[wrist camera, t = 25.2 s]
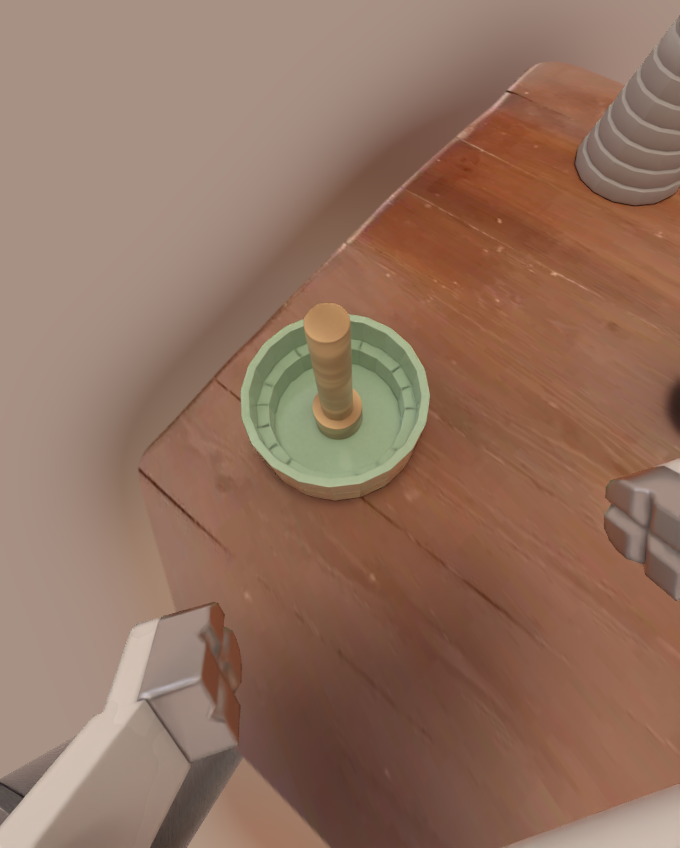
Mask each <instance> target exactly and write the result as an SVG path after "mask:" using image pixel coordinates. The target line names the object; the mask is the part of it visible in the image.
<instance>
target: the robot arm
mask: <svg viewBox="0 0 680 848" xmlns="http://www.w3.org/2000/svg"><path fill="white" fill-rule="evenodd" d="M605 498H606V499H607V500H608V501H609V502H610V503H611V505H610V507H609V508H608V510H607V511H606V513H605V514H604V529H605V531H606V534H607V536H608V538H609V541H610V542H611V543H612V545H613V546H614V547H615V549H616V550H617V551H618V552H619V553H621V554H622V555H623V556H624V557H625V558H626V559H629V560H632V561H634V562H637V563H640V564H643V567H644V571H645V575H646V576H647V577H648V578H650V579H651V580H652V581H653V582H654V583H655V584H657V585H658V586H659V587H660V588H661V589H663V590H664V591H665V592H666V593H667V594H668V595H670V596H671V597H672V598H673V599H674V600H675V601H677V600H680V458H679V459H676V460H673V461H670V462H667V463H663V464H660V465H657V466H656V467H652V468H649V469H645V470H642V471H639V472H636V473H633V474H630V475H626V476H623V477H620V478H617V479H614V480H611V481H610V482H609V483H608V485H607V487H606V495H605ZM224 617H225V614H224V613H223V611H222V609H221V607H220V605H219V603H216V602H212V603H208V604H205V605H201V606H198V607H194V608H191V609H187V610H183V611H180V612H176V613H173V614H169V615H165V616H163V617H161V618H158V619H154V620H150V621H146V622H143V623H139V624H136V626H135V627H134V628H133V629H132V630H131V632H130V634H129V637H128V640H127V643H126V646H125V649H124V652H123V655H122V658H121V661H120V663H119V666H118V669H117V672H116V675H115V678H114V681H113V684H112V687H111V690H110V693H109V696H108V699H107V701H106V705H105V708H104V710H103V713H101V714H98V715H95V716H93V717H92V719H91V720H90V721H89V722H88V723H87V724H86V725H85V727H84V728H83V729H82V730H81V732H80V733H79V734H78V735H77V736H76V737H75V738H74V740H73V741H72V742H71V743H70V744H69V745H68V747H67V748H66V749H65V750H64V751H63V753H62V754H61V755H60V756H59V757H58V758H57V760H56V761H55V762H54V763H53V764H52V766H51V767H50V768H49V769H48V770H47V771H46V773H45V774H44V775H43V776H42V777H41V778H40V780H39V781H38V782H37V783H36V784H35V786H34V787H33V788H32V789H31V790H30V791H29V793H28V794H27V795H26V796H25V797H24V798H23V800H22V801H21V802H20V803H19V804H18V806H17V807H16V808H15V809H14V810H13V811H12V813H11V814H10V815H9V816H8V817H7V818H6V820H5V821H4V822H3V823H2V824H1V826H0V848H150V846H151V844H152V842H153V840H154V838H155V836H156V834H157V832H158V830H159V828H160V826H161V824H162V822H163V820H164V818H165V817H166V815H167V813H168V811H169V809H170V807H171V805H172V803H173V801H174V799H175V797H176V795H177V793H178V791H179V789H180V787H181V785H182V783H183V781H184V779H185V777H186V775H187V773H188V771H189V769H190V767H191V765H190V763H191V762H194V761H197V760H200V759H202V758H205V757H208V756H211V755H213V754H216V753H219V752H222V751H224V750H227V749H230V748H233V747H235V746H238V745H239V725H240V704H239V702H238V701H237V699H236V697H235V695H234V694H235V692H236V690H237V689H238V687H239V685H240V684H241V682H242V664H241V655H240V649H239V646H238V642H237V639H236V637H235V635H234V633H233V631H232V630H230V629H228V628H226V627H224ZM501 848H680V783H678V784H675V785H673V786H670V787H667V788H664V789H662V790H659V791H656V792H653V793H651V794H648V795H645V796H642V797H640V798H637V799H634V800H631V801H628V802H626V803H623V804H620V805H617V806H615V807H612V808H609V809H606V810H604V811H601V812H598V813H595V814H593V815H590V816H587V817H584V818H581V819H579V820H576V821H573V822H570V823H568V824H565V825H562V826H559V827H557V828H554V829H551V830H548V831H546V832H543V833H540V834H537V835H535V836H532V837H529V838H526V839H523V840H521V841H518V842H515V843H512V844H510V845H507V846H504V847H501Z"/></svg>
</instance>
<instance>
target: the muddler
mask: <svg viewBox="0 0 680 848" xmlns="http://www.w3.org/2000/svg"><path fill="white" fill-rule="evenodd" d="M303 326H304V331H305V335H306V340H307V344H308V349H309V353H310V358H311V363H312V367H313V372H314V376H315V381H316V385H317V390H318V393H317V394H316V396H315V398H314V401H313V413H314V417H315V420H316V424H317V427H318V429H319V430H320V431H321V433H322V434H324V435H325V436H327V437H329V438H331V439H336V440H341V439H346V438H348V437H350V436H352V435H353V434H355V433H356V432H357V430H358V429H359V427H360V425H361V421H362V401H361V398H360V396H359V394H358V393H357V392H356V391H355V390H354V389H353V387H352V355H351V323H350V317H349V314H348V313H347V311H346V310H345V309H344V308H343V307H341V306H339V305H337V304H334V303H321V304H318V305H316V306H314V307H313V308H311V309H310V310H309V311H308V312H307V314H306V316H305V318H304V322H303Z"/></svg>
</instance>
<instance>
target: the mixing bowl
mask: <svg viewBox="0 0 680 848" xmlns="http://www.w3.org/2000/svg"><path fill="white" fill-rule="evenodd" d="M349 317H350V323H351V355H352V387H353V389H354V390H355V391H356V392H357V393H358V394H359V396H360V398H361V401H362V421H361V425H360V427H359V429H358V430H357V432H356V433H355V434H353V435H352V436H350V437H348V438H346V439H341V440H336V439H331V438H329V437H327V436H325V435H324V434H322V433H321V431H320V430H319V429H318V427H317V424H316V420H315V417H314V413H313V401H314V398H315V396H316V394H317V393H318V390H317V385H316V381H315V376H314V372H313V367H312V363H311V358H310V353H309V349H308V344H307V340H306V335H305V331H304V326H303V322H304V319H303V320H300V321H298V322H295V323H293V324H290V325H288V326H286V327H284V328H283V329H282V330H280V331H279V332H278V333H277V334H275V335H274V336H273V337H271V338H270V339H269V340H268V341H266V342H265V343H264V344H263V346H262V347H261V349H260V350H259V351H258V353H257V354H256V356H255V357H254V359H253V360H252V361H251V363H250V364H249V366H248V369H247V372H246V375H245V379H244V382H243V385H242V388H241V415H242V421H243V423H244V426H245V428H246V431H247V433H248V436H249V438H250V441H251V443H252V445H253V446H254V448H255V449H256V450H257V451H258V453H259V454H260V455H261V456H262V457H263V459H264V460H265V461H266V462H267V464H268V465H269V466H270V467H271V468H272V469H273V470H274V471H275V473H276V474H277V475H278V476H279V477H280V478H281V479H282V480H283V482H285V483H286V484H288V485H290V486H292V487H293V488H295V489H297V490H299V491H300V492H302V493H304V494H306V495H309V496H314V497H319V498H324V499H329V500H341V499H349V498H357V497H362V496H364V495H366V494H369V493H371V492H373V491H375V490H377V489H379V488H381V487H383V486H385V485H387V484H388V483H389V482H390V481H391V480H392V479H393V478H394V477H395V476H396V475H397V474H398V473H399V472H400V471H401V470H402V469H404V467H405V466H406V464H407V462H408V460H409V458H410V456H411V454H412V453H413V451H414V449H415V447H416V445H417V443H418V440H419V438H420V436H421V434H422V431H423V429H424V427H425V425H426V421H427V414H428V407H429V400H430V392H429V388H428V383H427V378H426V373H425V369H424V367H423V366H422V364H421V362H420V361H419V359H418V357H417V356H416V354H415V352H414V351H413V349H412V347H411V346H410V345H409V344H408V343H407V342H406V341H405V340H404V339H403V338H401V337H400V336H399V335H398V334H397V333H396V332H395V331H393V330H392V329H391V328H390V327H387V326H385V325H383V324H381V323H378V322H376V321H374V320H372V319H370V318H367V317H364V316H357V315H350V314H349Z"/></svg>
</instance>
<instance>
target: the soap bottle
mask: <svg viewBox="0 0 680 848" xmlns="http://www.w3.org/2000/svg"><path fill="white" fill-rule="evenodd" d="M575 165H576V168H577V170H578V173H579V176H580V178H581V180H582V181H583V182H584V183H585V184H586V185H587V186H588V187H589V188H590V189H591V190H592V191H593V192H595V193H597V194H599V195H601V196H603V197H605V198H607V199H609V200H611V201H613V202H619V203H624V204H629V205H644V204H654V203H657V202H659V201H661V200H663V199H665V198H667V197H669V196H671V195H673V194H675V193H676V191H677V190H678V189H679V187H680V16H679V17H678V19H677V20H676V21H675V22H674V23H673V24H672V25H671V27H670V28H669V29H668V31H667V32H666V33H665V35H664V37H663V38H662V39H661V41H660V42H659V43H658V44H657V45H656V46H655V47H654V49H653V50H652V51H651V53H650V54H649V56H648V57H647V58H646V60H645V61H644V63H643V64H642V65H641V66H640V67H639V68H638V70H637V71H636V72H635V74H634V75H633V76H632V78H631V79H630V80H629V82H628V83H627V84H626V86H625V87H624V88H623V89H622V90H621V92H620V93H619V94H618V96H617V97H616V99H615V100H614V101H613V103H612V104H611V105H610V106H609V107H608V109H607V110H606V111H605V113H604V114H603V115H602V117H601V118H600V119H599V121H598V122H597V123H596V124H595V126H594V127H593V128H592V130H591V131H590V132H589V134H588V135H587V136H586V137H585V138H584V140H583V141H582V143H581V144H580V145H579V147H578V151H577V157H576V163H575Z"/></svg>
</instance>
